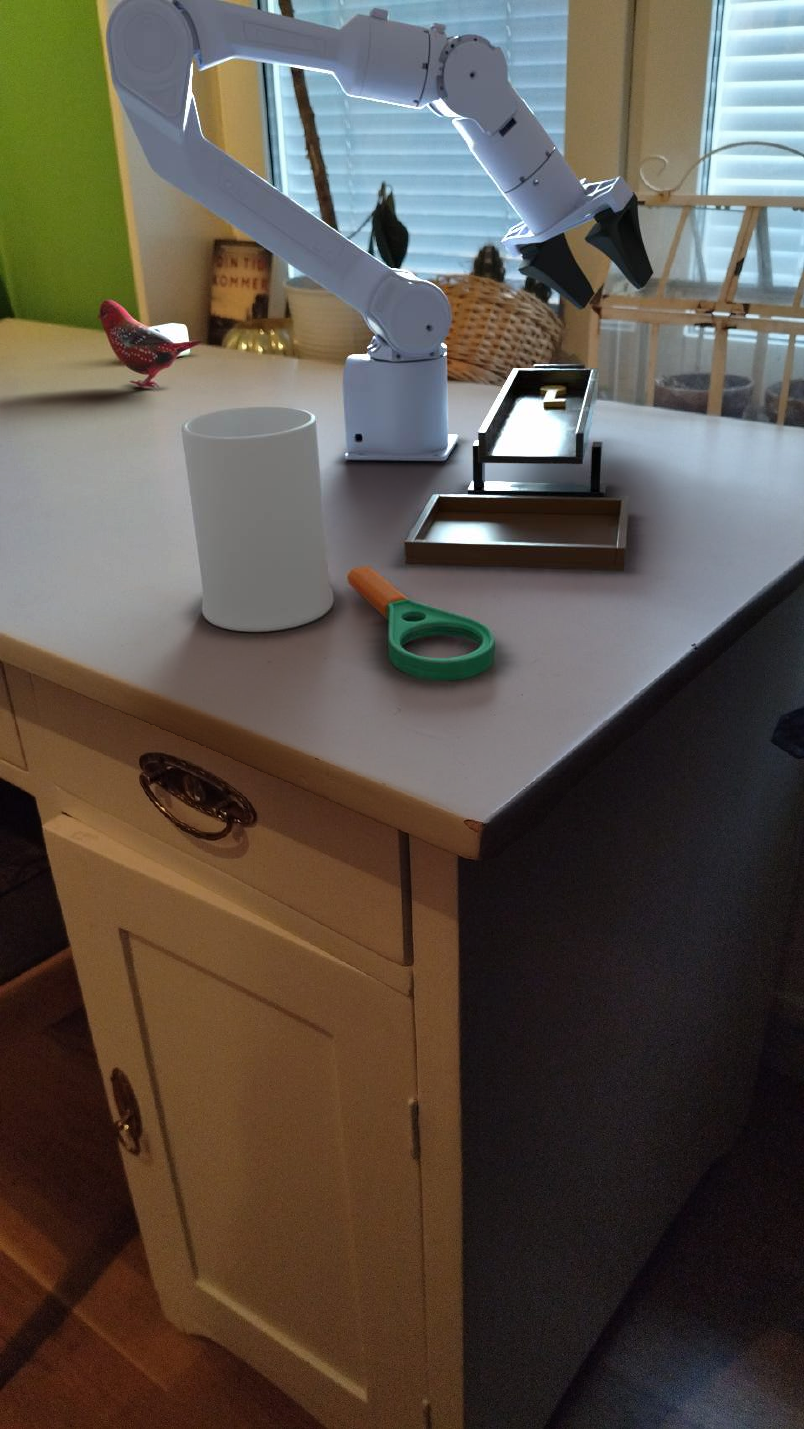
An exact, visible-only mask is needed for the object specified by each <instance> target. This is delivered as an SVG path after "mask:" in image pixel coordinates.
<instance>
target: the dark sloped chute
mask: <svg viewBox="0 0 804 1429" xmlns="http://www.w3.org/2000/svg"><path fill="white" fill-rule="evenodd" d="M549 385H559V386H564V387H566V394H564V395H560V396H557V397H556V399H566V405H565V407H543V401H544V399H545V395H542V394H540V388H541V387H544V386H549ZM598 390H599V368H586V364H581V363H579V364H572V363H571V364H569V363H568V364H567V363H566V364H565V363H563V364H562V363H561V364H559V363H558V364H557V363H556V364H533V368H513V369H512V371H511V372H510V374H509V376H508V377H507V379H506V381H505V383H504V385H503V387H502V389H501V390H500V393H499V394H498V396H497V398H496V399H495V401H494V403H493V405H492V407H491V408H490V410H489V412H488V414H487V416H486V417H485V419H484V421H483V423H482V425H481V426H480V428H479V430H478V432H477V441H478V462H479V463H485V464H525V465H526V464H527V465H528V464H532V465H533V464H535V465H536V464H538V465H546V464H547V465H583V464H584V460H585V455H586V451H587V446H588V441H589V437H590V432H591V427H592V422H593V418H594V412H595V409H596V408H595V407H596V403H597V398H598V395H599V394H598V393H599V391H598Z"/></svg>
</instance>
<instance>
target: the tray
mask: <svg viewBox="0 0 804 1429" xmlns="http://www.w3.org/2000/svg"><path fill="white" fill-rule="evenodd" d="M629 508H630V498H629V497H577V496H528V495H479V494H444V493H440V494H438V493H433V494H431V496H430V498H429V500H428V501H427V503H426V504H425V506H424V508H423V510H422V512H421V513H420V515H419V517H418V518H417V520H416V521H415V523H414V526H413V527H412V529H411V530H410V532H409V534H408V536H407V537H406V539H404V540H405V541H404V557H405V558H404V560H405V561H404V563H405V564H415V565H416V564H417V565H418V564H421V565H448V566H449V565H450V566H476V567H477V566H478V567H481V566H483V567H508V568H511V567H512V568H538V569H541V568H542V569H568V570H569V569H572V570H598V571H599V570H600V571H601V570H602V571H625V567H626V552H627V541H628V540H627V538H628V525H629V523H628V522H629Z"/></svg>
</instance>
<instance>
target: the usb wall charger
mask: <svg viewBox="0 0 804 1429" xmlns="http://www.w3.org/2000/svg"><path fill="white" fill-rule="evenodd" d="M149 327H150V328H152V329H154V330H156V331H158V332H159V333H161V334H162V335H164V336H165V337H167V338H168V339H170V340H171V341H172V342H173V343H180V342H187V341H190V340H189V333H188V327H187V326H186V324H184V323H183V324H182V323H176V322H170V323H165V324H159V325H153V326H149ZM190 353H191V348H190V349H188V350H185V351H183V352H181V353H180V354H179V355H178V356H177V357H176V358H178V357H182V356H188V355H189V354H190Z"/></svg>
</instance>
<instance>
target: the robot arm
mask: <svg viewBox="0 0 804 1429" xmlns="http://www.w3.org/2000/svg"><path fill="white" fill-rule="evenodd" d="M389 14H390V13H389V11H388V10H387V9H383V8H378V7H373V8H372V9H370V10H369V15H367V14H362V13H356V14H355V15H353V16H351V17H350V19H349V20H347V21H346V22H345V23H344V24H342V26H341V27H339V28H335V27H331V26H328V25H323V24H319V23H315V22H311V21H307V20H304V19H299V18H294V17H292V16H291V17H290V16H287V15H282V14H278V13H274V12H270V11H266V10H262V9H258V8H255V7H254V8H253V7H250V6H245V5H242V4H237V3H234V2H230V1H225V0H171V1H170V0H121V1H120V2H118V4H117V5H116V6H115V8H113V10H112V12H111V14H110V15H109V18H108V21H107V25H106V30H105V31H106V33H105V40H106V41H105V43H106V50H107V57H108V61H109V63H108V64H109V70H110V76H111V82H112V86H113V88H114V90H115V92H116V94H117V97H118V99H119V102H120V104H121V105H122V107H123V110H124V112H125V114H126V117H127V119H128V121H129V123H130V125H131V127H132V130H133V133H134V135H135V136H136V139H137V141H138V143H139V146H140V147H141V149H142V152H143V154H144V157H145V158H146V160H147V163H148V165H149V166H150V168H151V170H152V171H153V172H154V173H155V174H156V175H157V176H158V177H160V178H161V179H162V180H164V181H166V182H167V183H168V184H170V185H171V186H172V187H174V188H175V189H177V190H178V191H180V192H182V193H183V194H185V195H186V196H188V197H189V198H190V199H191V200H193V201H195V202H197V203H198V204H199V205H201V206H202V207H204V208H205V209H207V210H208V211H210V212H211V213H213V214H215V215H216V216H217V217H219V218H220V219H222V220H223V221H225V222H226V223H228V224H229V225H230V226H232V227H234V228H235V229H236V230H238V231H239V232H241V233H243V235H245V236H247V237H249V238H250V239H251V240H253V241H254V242H256V243H257V244H258V245H260V246H261V247H263V248H265V249H266V250H267V251H269V252H270V253H272V254H273V255H275V256H276V257H278V258H279V259H280V260H282V261H284V262H285V263H287V264H288V265H290V266H291V267H293V268H294V269H295V270H297V271H299V273H301V274H302V275H304V276H306V277H307V278H309V279H311V281H314V282H315V283H316V284H318V285H319V286H320V287H322V288H323V289H325V290H326V291H328V292H329V293H331V294H332V295H334V296H336V297H337V298H338V299H340V300H341V301H342V302H344V303H346V304H348V305H349V306H350V307H351V308H352V309H354V310H356V311H357V312H358V313H359V314H361V315H362V317H363V319H364V321H365V323H366V325H367V326H368V328H369V329H370V331H371V332H373V333H374V336H373V337H372V339H371V341H370V343H369V345H368V346H367V348H366V350H367V351H366V352H367V353H366V354H365V353H363V354H351V355H349V356H347V358H346V360H345V362H344V366H343V372H342V401H343V416H344V431H345V432H344V433H345V447H346V448H345V449H346V453H345V454H344V458H345V460H348V461H349V460H350V461H416V462H421V461H422V462H443V461H446V460H447V459H448V457H449V455H450V454H451V452H452V451H453V449H454V448H455V446H456V444H457V442H458V441H459V435H458V434H449V397H448V396H449V394H448V353H447V352H448V350H447V348H448V347H447V345H446V344H445V343H444V342H445V340H446V339H447V336H448V335H449V333H450V329H451V326H452V319H453V318H452V315H453V314H452V308H451V304H450V301H449V299H448V297H447V296H446V294H445V293H444V291H442V289H441V288H440V287H438V286H437V285H435V284H434V283H432V282H430V281H428V280H424V279H420V278H419V277H418V276H417V275H415V274H414V273H412V272H410V271H408V270H406V269H399V268H391V267H390V266H388V265H387V264H385V263H383V261H381V260H380V259H378V258H376V257H375V256H373V255H372V254H370V253H368V252H367V251H365V250H364V249H363V248H362V247H360V246H358V245H357V244H355V242H352V241H351V240H350V239H348V238H347V237H346V236H344V235H343V234H342V233H340V232H339V231H337V230H336V229H335V228H333V227H331V226H330V225H329V224H327V223H326V222H325V221H323V220H322V219H321V218H319V217H317V215H314V214H313V213H311V212H310V211H309V210H307V209H306V208H305V207H303V206H302V205H300V204H299V203H297V202H296V201H295V200H293V199H292V198H290V197H289V196H287V195H286V194H284V192H282V191H281V190H280V189H277V188H276V187H275V186H273V185H272V184H270V183H269V182H268V181H266V180H265V179H263V178H262V177H260V176H259V175H258V174H256V173H255V172H253V170H251V169H249V167H246V166H245V165H244V164H242V163H241V162H239V161H238V160H236V159H235V158H234V157H232V156H231V155H229V154H228V153H226V151H224V150H222V149H221V148H220V147H218V146H216V144H214V143H212V142H211V141H210V140H208V139H207V138H206V137H204V135H203V133H202V129H201V123H200V119H199V114H198V111H197V110H198V109H197V104H196V101H195V96H194V94H193V92H192V91H193V90H192V79H193V69H194V67H193V66H194V64H193V63H194V57H195V60H196V66H197V70H198V71H199V72H201V71H204V70H207V69H209V68H212V67H214V66H217V65H219V64H222V63H224V62H227V61H229V60H232V59H239V60H245V61H253V62H259V63H265V64H271V65H277V66H284V67H291V68H297V69H302V70H309V71H315V72H320V73H321V72H322V73H327V74H331V75H332V76H333V77H334V78H335V79H336V81H337V82H338V84H339V85H340V88H341V89H342V91H343V92H344V93H345V94H346V96H349V97H354V98H361V99H366V100H372V101H374V102H375V101H376V102H380V103H381V102H382V103H387V104H392V105H397V106H402V107H407V108H413V109H417V110H421V109H423V108H425V107H426V106H427V107H428V109H429V110H430V111H432V112H433V114H435V115H437V116H438V117H441V118H443V117H444V118H445V117H454V119H453V120H452V124H453V125H454V127H455V128H456V129H457V131H458V132H459V133H460V135H461V137H462V138H463V139H464V140H465V141H466V143H467V145H468V147H469V149H470V152H472V153H473V156H475V158H476V159H477V161H478V162H479V163H480V165H481V166H482V168H483V169H484V170H485V171H486V173H487V174H488V176H489V177H490V178H491V180H492V181H493V182H494V184H495V185H496V187H497V188H498V189H499V190H500V192H501V194H502V195H503V196H504V198H505V199H506V200H507V202H508V203H509V204H510V206H511V207H512V209H513V210H514V211H515V212H516V214H517V215H518V217H519V218H520V219H521V220H522V221H521V222H520V223H518V224H517V225H514V226H513V227H511V228H510V229H509V231H508V232H507V234H506V235H505V236H504V237H503V239H502V240H501V243H502V244H503V246H504V247H505V248H506V251H508V253H509V254H510V255H511V256H512V258H516V257H519V256H520V255H522V256H521V258H522V260H521V262H520V263H519V264H518V265H517V270H518V272H519V273H520V275H523V276H525V277H529V278H531V279H533V280H536V281H538V282H540V283H541V284H543V285H545V286H547V287H549V288H551V289H552V290H553V291H554V292H556V293H557V294H559V295H560V296H561V297H563V298H564V299H565V300H566V301H568V303H570V304H571V305H573V306H574V307H576V308H577V309H578V310H579V311H580V310H584V309H585V308H586V307H587V306H588V304H589V303H590V301H591V300H592V298H593V297H594V296H595V291H594V288H593V287H592V284H591V283H590V281H589V278H587V276H586V274H585V273H584V271H583V270H582V268H581V267H580V266H579V263H578V262H577V260H576V258H575V256H574V255H573V251H572V250H571V248H570V246H569V243H568V241H567V237H566V235H565V234H566V233H565V232H567V231H570V230H572V229H574V228H576V227H579V226H581V225H583V224H586V223H587V222H588V223H589V222H590V221H593V220H594V221H595V222H596V223H594V225H593V226H592V227H591V228H590V230H589V231H588V233H587V234H586V236H584V240H585V242H586V243H587V244H589V245H591V246H592V247H594V248H596V249H597V250H599V251H600V252H602V253H603V254H604V255H605V256H606V257H607V258H608V259H609V260H610V261H611V262H612V263H613V264H614V265H616V267H617V268H618V269H619V271H620V272H621V273H622V274H623V276H624V277H625V278H626V279H627V281H628V282H629V283H630V284H631V285H632V286H633V287H634V288H636V289H637V290H640V289H643V288H645V286H646V285H647V284H648V282H649V280H650V279H651V278H652V276H653V274H654V269H653V266H652V264H651V262H650V259H649V256H648V253H647V250H646V246H645V243H644V240H643V235H642V231H641V226H640V217H639V199H638V196H637V194H636V193H635V191H632V189H631V188H630V186H629V185H628V183H627V182H626V180H625V179H624V177H623V176H622V175H619V176H616V177H615V178H614V177H613V178H612V179H609V180H603V181H598V182H593V183H590V182H589V180H588V179H587V178H582V179H579V178H578V176H577V175H576V173H575V172H574V171H573V169H572V168H571V167H570V165H569V163H568V162H567V161H566V159H565V157H564V156H563V155H562V153H561V151H559V149H558V147H557V146H556V145H555V143H554V142H553V140H552V138H551V137H550V136H549V134H548V133H547V131H546V130H545V128H544V127H543V125H542V123H540V121H539V120H538V118H537V117H536V116H535V114H534V112H533V111H532V110H531V108H530V107H529V105H528V104H527V102H526V101H525V99H523V98H522V97H521V96H520V95H519V93H518V92H517V90H516V89H515V88H514V85H513V84H512V83H511V82H510V80H509V79H508V73H509V72H508V70H509V69H508V63H507V58H506V56H505V54H504V52H503V50H502V48H501V47H500V46H495V45H492V44H491V41H490V40H488V39H487V38H486V37H484V36H481V35H478V34H471V33H468V34H462V35H459V36H454V35H450V36H447V34H446V32H447V31H446V30H447V26H446V24H444V23H443V24H442V23H438V22H434V23H431V25H430V28H428V27H424V26H419V25H414V24H409V23H405V22H402V21H401V22H400V21H395V20H390V19H389ZM457 117H458V118H457Z"/></svg>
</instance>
